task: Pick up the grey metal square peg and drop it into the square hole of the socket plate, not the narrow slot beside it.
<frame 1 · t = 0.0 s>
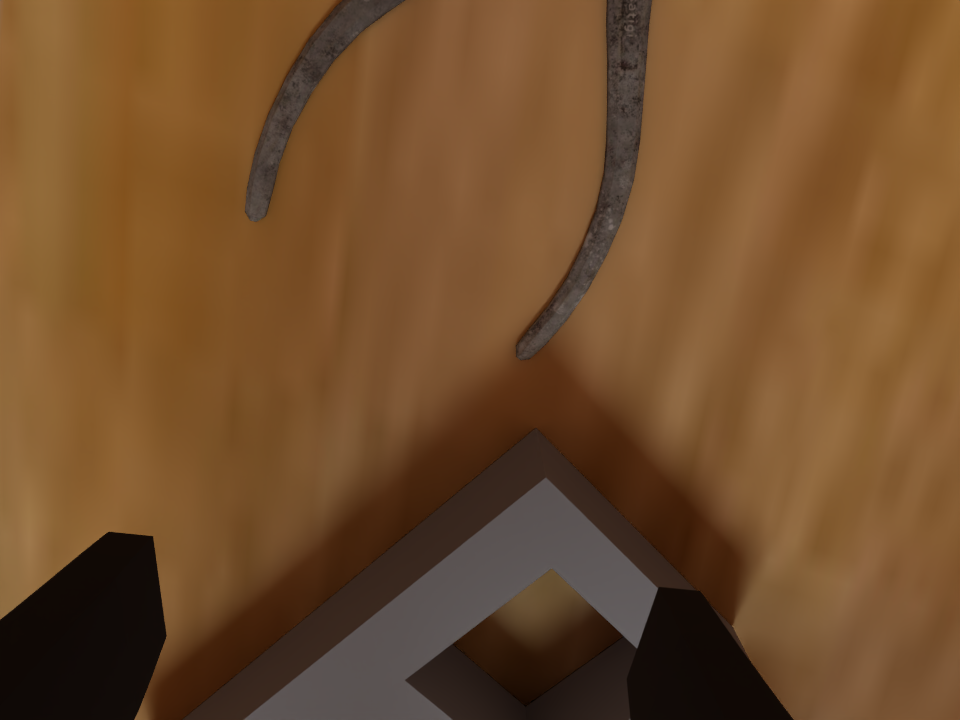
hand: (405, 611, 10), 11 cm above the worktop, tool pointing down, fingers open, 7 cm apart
socket plate: (434, 687, 24), on the worktop
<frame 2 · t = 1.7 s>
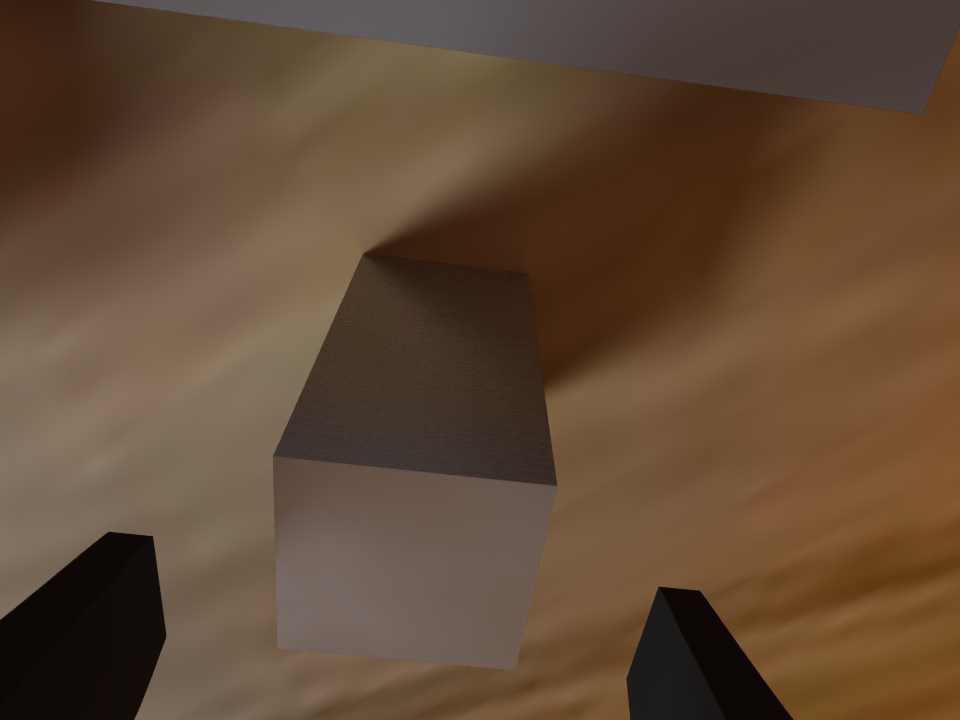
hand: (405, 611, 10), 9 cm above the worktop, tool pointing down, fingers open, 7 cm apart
peg: (437, 337, 18), on the worktop
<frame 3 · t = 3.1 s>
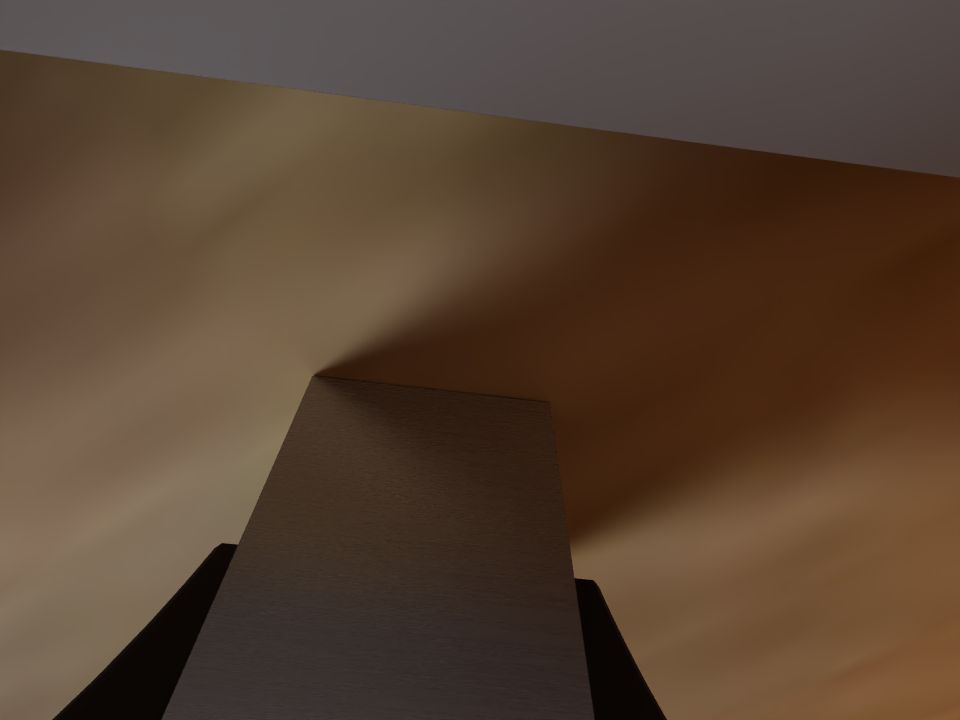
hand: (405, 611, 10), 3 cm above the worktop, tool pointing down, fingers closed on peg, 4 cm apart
peg: (421, 482, 13), on the worktop, touching gripper
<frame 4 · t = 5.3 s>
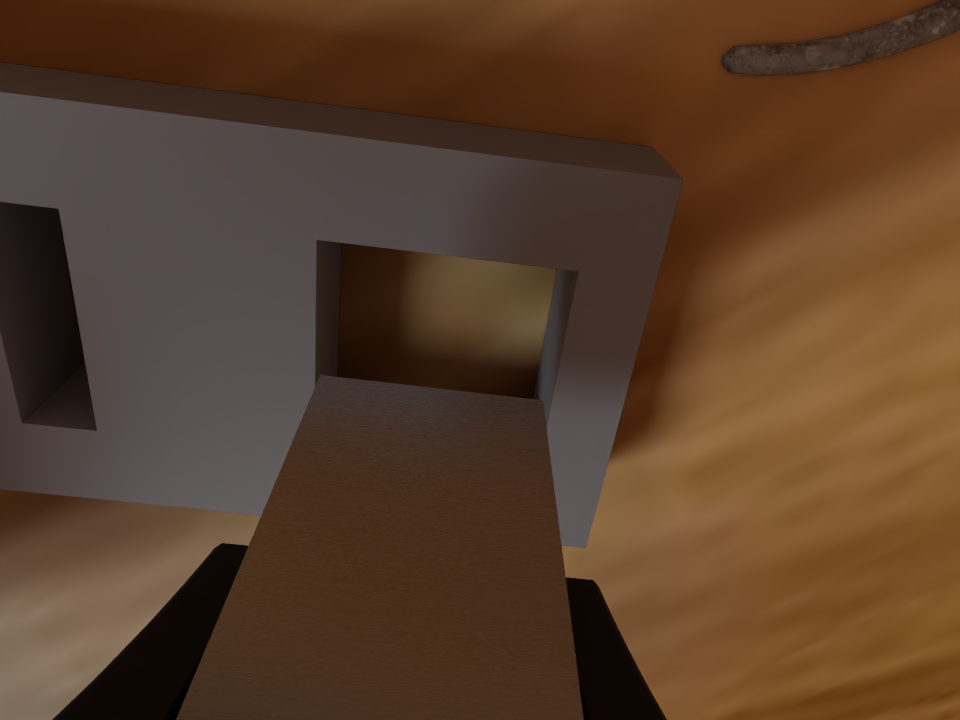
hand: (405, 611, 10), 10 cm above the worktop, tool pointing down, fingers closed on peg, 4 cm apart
peg: (423, 475, 13), point 6 cm above the worktop, touching gripper
socket plate: (275, 294, 19), on the worktop
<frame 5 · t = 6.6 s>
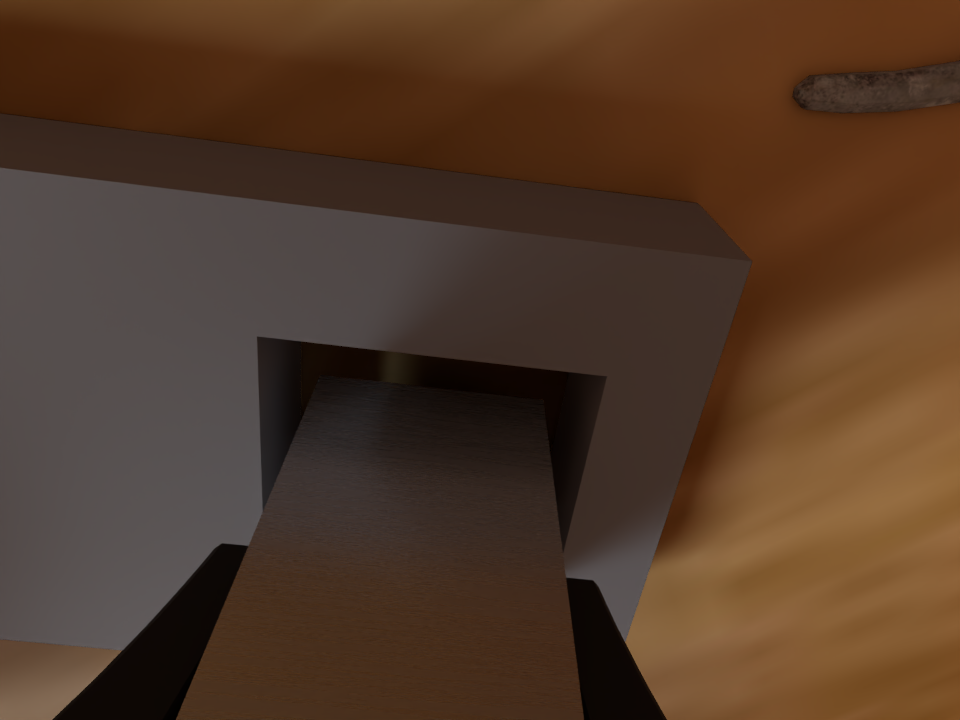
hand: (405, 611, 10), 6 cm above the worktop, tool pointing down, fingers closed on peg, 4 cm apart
peg: (423, 475, 13), point 2 cm above the worktop, touching gripper
socket plate: (221, 379, 15), on the worktop
when the fingers open (4 cm above the worktop, at t = 7.9 s): peg stays where it is, resting in socket plate.
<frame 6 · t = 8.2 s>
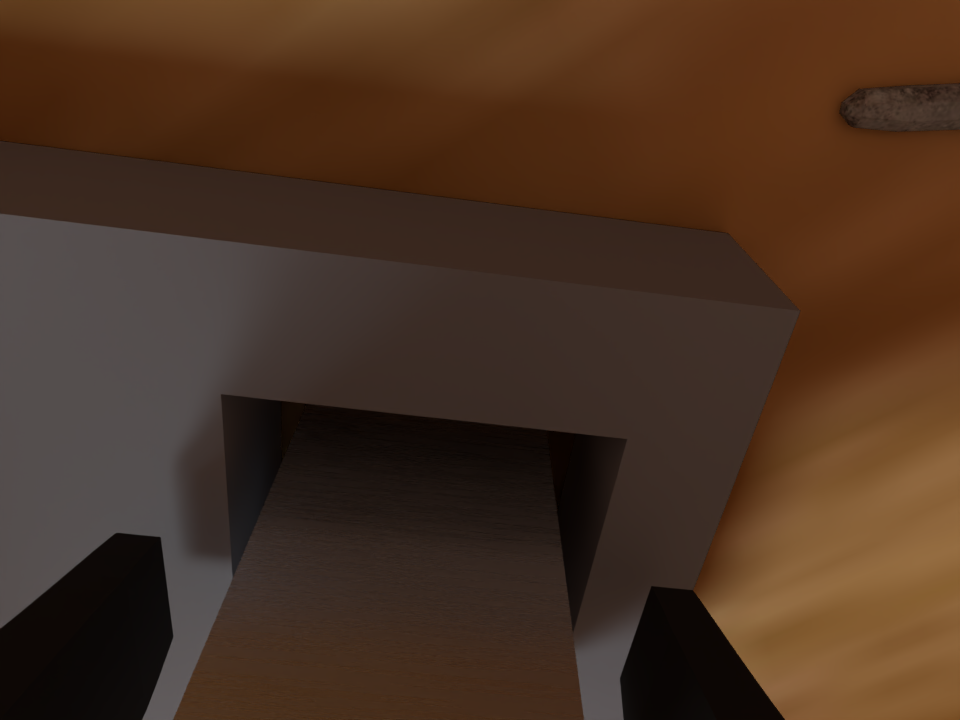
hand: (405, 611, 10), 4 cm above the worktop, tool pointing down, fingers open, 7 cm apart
peg: (424, 462, 14), resting in socket plate
socket plate: (191, 425, 13), on the worktop
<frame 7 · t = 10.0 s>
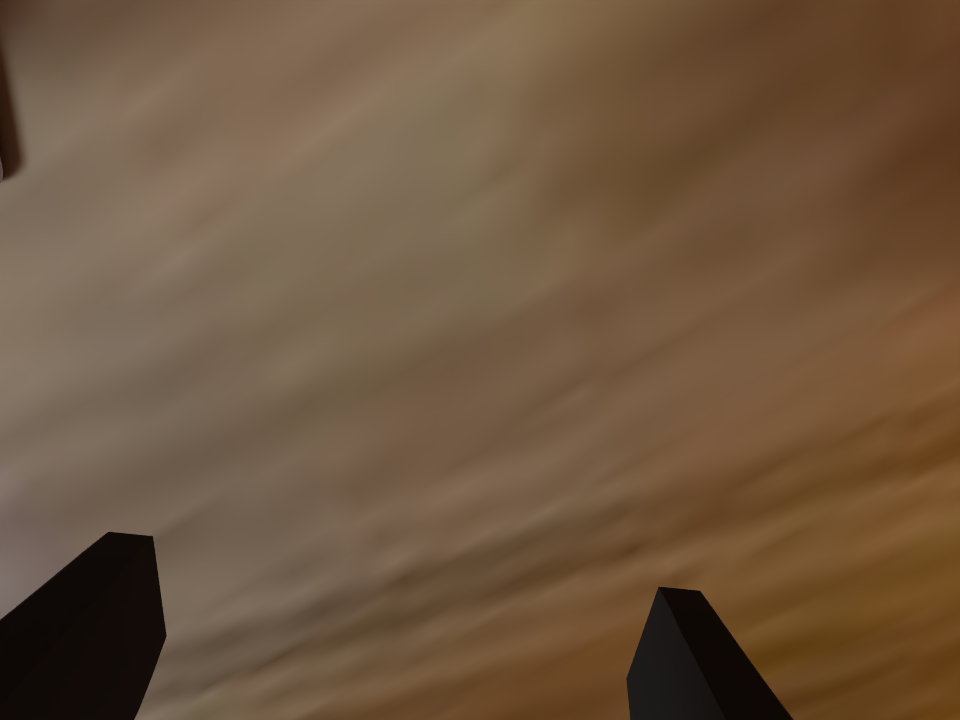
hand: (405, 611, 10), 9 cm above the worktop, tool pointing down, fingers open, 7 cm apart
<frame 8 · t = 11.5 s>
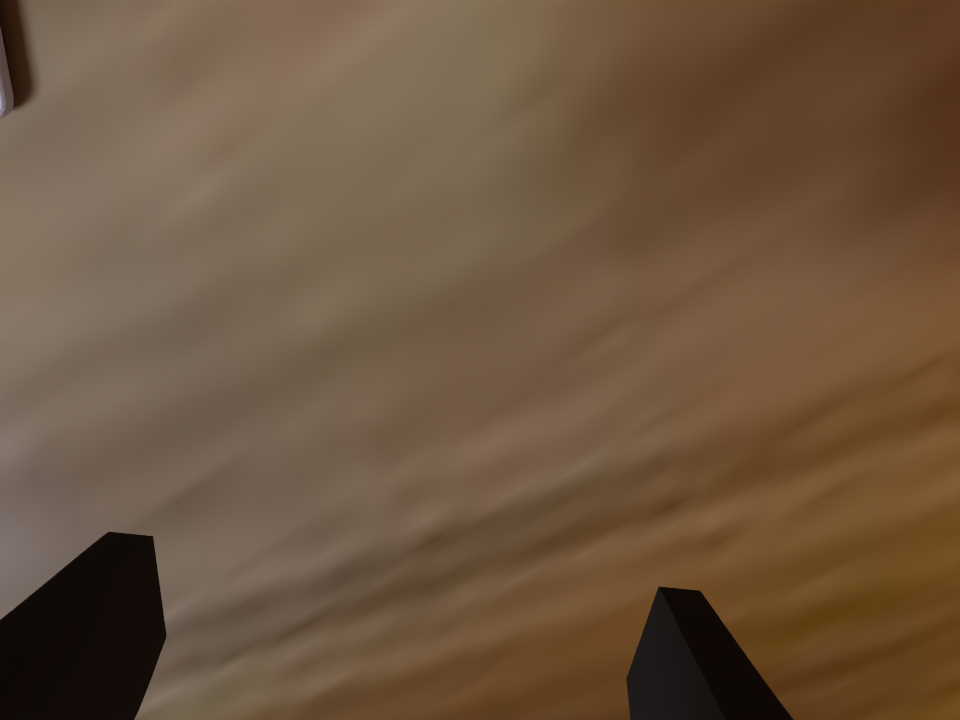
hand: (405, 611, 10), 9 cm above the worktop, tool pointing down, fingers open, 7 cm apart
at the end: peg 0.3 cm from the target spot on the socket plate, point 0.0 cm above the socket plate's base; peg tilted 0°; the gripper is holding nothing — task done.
